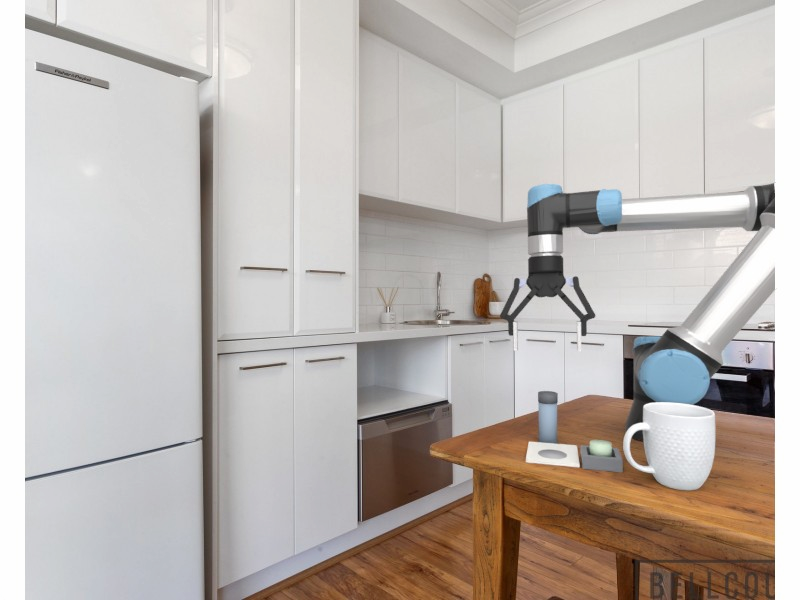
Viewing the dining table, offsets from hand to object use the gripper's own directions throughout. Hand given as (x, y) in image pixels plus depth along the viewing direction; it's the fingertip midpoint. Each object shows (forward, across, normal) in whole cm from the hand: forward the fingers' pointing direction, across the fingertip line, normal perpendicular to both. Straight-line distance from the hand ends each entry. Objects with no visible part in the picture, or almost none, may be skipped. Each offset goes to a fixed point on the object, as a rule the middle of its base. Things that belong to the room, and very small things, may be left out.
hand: (547, 350), depth 109 cm
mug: (+21, -21, +18) cm, 35 cm away
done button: (+19, -10, +12) cm, 25 cm away
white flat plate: (+20, -1, +9) cm, 22 cm away
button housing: (+21, -10, +12) cm, 26 cm away
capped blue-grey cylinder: (+20, 0, 0) cm, 21 cm away
